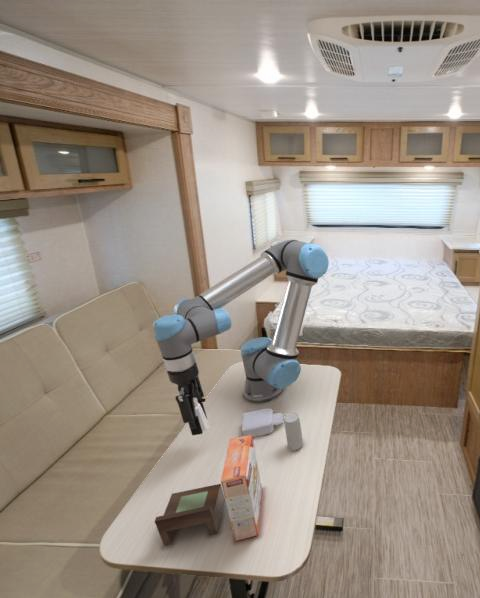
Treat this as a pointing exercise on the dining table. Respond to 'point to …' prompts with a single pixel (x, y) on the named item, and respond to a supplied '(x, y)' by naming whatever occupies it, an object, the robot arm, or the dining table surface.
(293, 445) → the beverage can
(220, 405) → the dining table surface
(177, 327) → the robot arm
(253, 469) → the cracker box
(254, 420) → the charger
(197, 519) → the shelf
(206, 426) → the salt shaker
